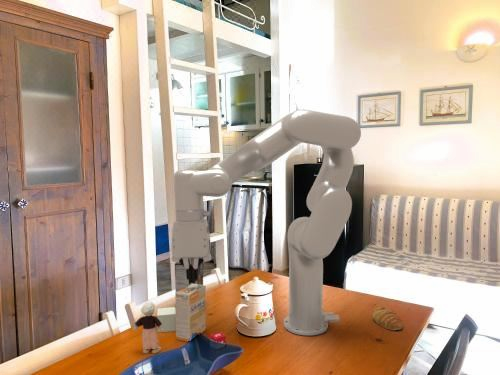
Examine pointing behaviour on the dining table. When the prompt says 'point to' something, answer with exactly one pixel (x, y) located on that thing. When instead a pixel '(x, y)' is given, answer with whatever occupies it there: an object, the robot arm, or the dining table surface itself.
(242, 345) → the dining table surface
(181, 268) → the coffee box
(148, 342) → the grandmother figurine
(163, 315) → the sage block
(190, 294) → the supplement box
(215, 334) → the dice
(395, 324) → the pastry
